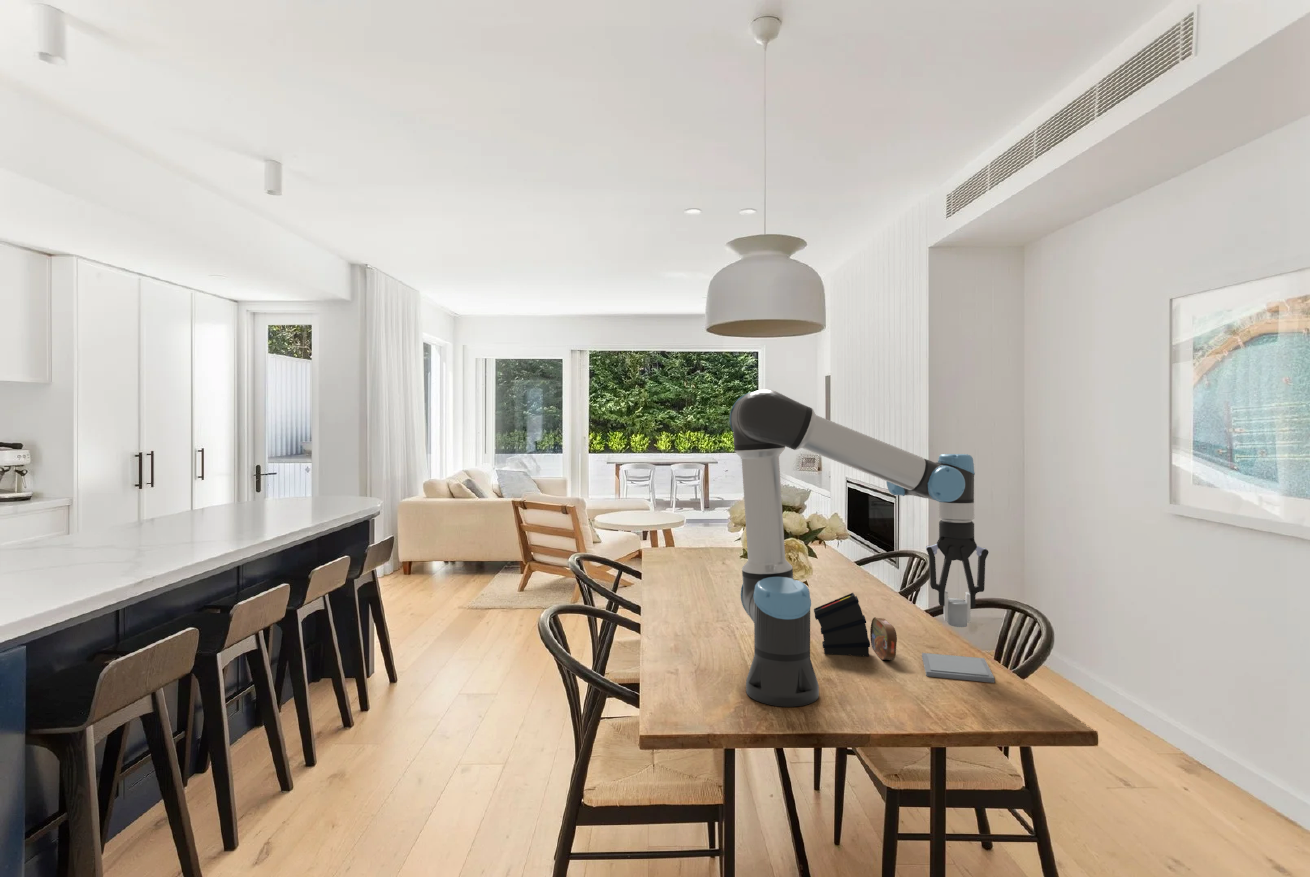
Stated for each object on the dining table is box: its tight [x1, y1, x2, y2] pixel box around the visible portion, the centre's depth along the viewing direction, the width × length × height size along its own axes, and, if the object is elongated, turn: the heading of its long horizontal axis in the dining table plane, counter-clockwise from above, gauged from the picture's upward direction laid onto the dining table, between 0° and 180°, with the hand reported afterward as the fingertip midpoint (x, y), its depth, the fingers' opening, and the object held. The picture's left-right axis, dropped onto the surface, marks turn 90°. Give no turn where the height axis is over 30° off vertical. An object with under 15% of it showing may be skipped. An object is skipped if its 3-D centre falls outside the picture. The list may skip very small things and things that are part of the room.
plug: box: [946, 597, 968, 628], centre depth 160 cm, size 4×9×5 cm, turn 163°
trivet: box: [921, 652, 996, 684], centre depth 159 cm, size 14×14×1 cm
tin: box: [869, 617, 898, 661], centre depth 170 cm, size 15×3×8 cm, turn 177°
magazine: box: [813, 592, 871, 657], centre depth 171 cm, size 4×13×15 cm, turn 78°
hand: (956, 620), depth 159 cm, fingers closed on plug, 4 cm apart
